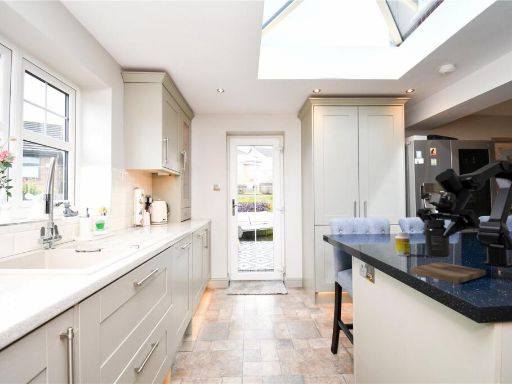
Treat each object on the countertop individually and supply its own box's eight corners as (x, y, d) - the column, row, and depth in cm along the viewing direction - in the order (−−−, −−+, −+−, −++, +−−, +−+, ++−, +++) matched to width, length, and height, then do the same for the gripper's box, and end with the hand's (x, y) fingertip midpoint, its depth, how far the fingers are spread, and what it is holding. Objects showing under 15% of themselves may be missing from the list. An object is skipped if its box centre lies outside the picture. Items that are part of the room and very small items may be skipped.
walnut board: (438, 266, 99) (438, 262, 99) (485, 274, 87) (485, 270, 87) (409, 272, 90) (409, 268, 90) (458, 283, 78) (457, 278, 78)
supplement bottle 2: (455, 256, 89) (453, 219, 89) (441, 258, 86) (439, 220, 87) (434, 252, 95) (433, 218, 96) (420, 254, 93) (419, 219, 93)
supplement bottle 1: (405, 256, 116) (405, 232, 116) (393, 254, 120) (392, 231, 121) (412, 255, 119) (411, 232, 119) (400, 253, 124) (399, 231, 124)
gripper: (418, 187, 102) (397, 217, 98) (472, 184, 84) (448, 221, 80) (435, 207, 104) (414, 238, 100) (490, 208, 86) (468, 246, 82)
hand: (433, 235), depth 91 cm, fingers closed on supplement bottle 2, 7 cm apart
